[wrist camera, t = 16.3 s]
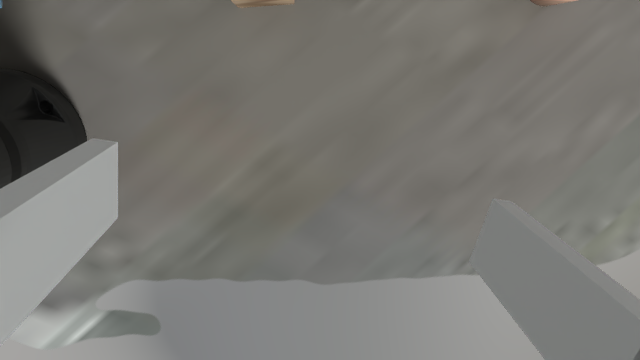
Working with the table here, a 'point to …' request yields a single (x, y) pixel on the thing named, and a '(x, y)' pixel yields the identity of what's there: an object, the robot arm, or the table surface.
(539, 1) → the peach capsule
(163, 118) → the table surface
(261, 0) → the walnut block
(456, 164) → the table surface
